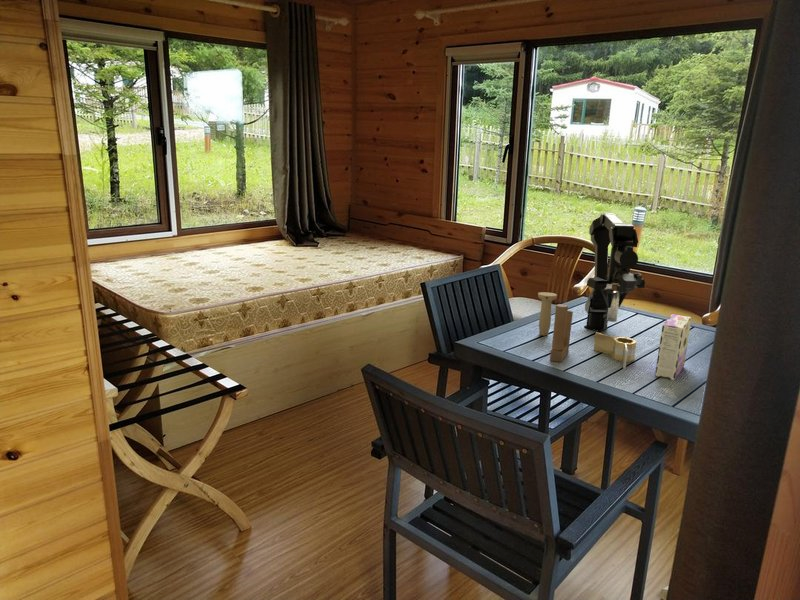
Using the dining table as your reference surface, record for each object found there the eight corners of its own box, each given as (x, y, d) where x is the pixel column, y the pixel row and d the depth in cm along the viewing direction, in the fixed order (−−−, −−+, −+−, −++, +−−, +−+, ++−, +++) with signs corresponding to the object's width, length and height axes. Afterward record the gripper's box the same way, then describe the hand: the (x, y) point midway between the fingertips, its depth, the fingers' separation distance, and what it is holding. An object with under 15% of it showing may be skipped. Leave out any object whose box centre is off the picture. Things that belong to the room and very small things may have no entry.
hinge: (579, 355, 195) (581, 338, 194) (598, 347, 203) (600, 330, 202) (624, 369, 184) (627, 351, 183) (643, 360, 192) (645, 342, 191)
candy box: (664, 362, 191) (672, 313, 187) (684, 367, 188) (692, 316, 183) (654, 376, 180) (661, 323, 176) (675, 381, 177) (683, 327, 172)
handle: (534, 331, 218) (538, 291, 214) (553, 333, 217) (557, 293, 213) (534, 335, 214) (537, 294, 210) (552, 337, 212) (556, 296, 208)
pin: (605, 320, 204) (608, 291, 202) (609, 318, 206) (613, 290, 204) (613, 322, 202) (617, 293, 199) (618, 320, 204) (622, 292, 202)
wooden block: (568, 352, 198) (574, 299, 193) (561, 363, 189) (566, 307, 184) (557, 350, 199) (562, 298, 195) (549, 360, 190) (554, 306, 185)
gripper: (606, 267, 189) (601, 315, 193) (658, 266, 193) (652, 313, 198) (588, 260, 200) (583, 306, 204) (638, 259, 204) (632, 304, 208)
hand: (613, 307), depth 203 cm, fingers closed on pin, 3 cm apart
